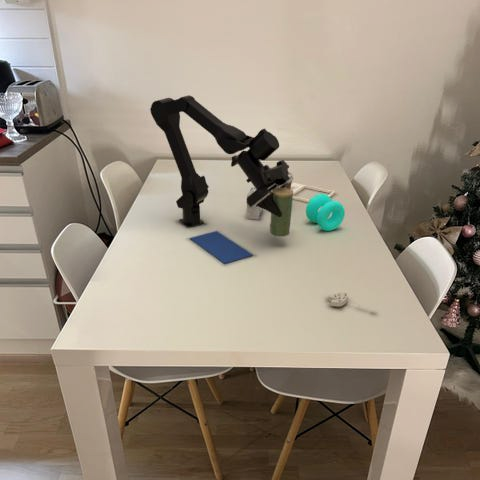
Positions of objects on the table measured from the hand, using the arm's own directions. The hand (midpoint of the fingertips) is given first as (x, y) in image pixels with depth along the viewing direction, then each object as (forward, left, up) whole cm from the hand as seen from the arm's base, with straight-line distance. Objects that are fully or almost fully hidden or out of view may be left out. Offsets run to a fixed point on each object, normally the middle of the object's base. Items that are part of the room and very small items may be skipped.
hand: (285, 212), depth 146 cm
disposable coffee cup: (-26, +19, -11) cm, 34 cm away
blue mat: (-9, -17, -11) cm, 22 cm away
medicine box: (-24, +7, -11) cm, 27 cm away
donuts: (-4, +21, -11) cm, 24 cm away
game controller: (+37, -8, -11) cm, 39 cm away
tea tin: (-1, -1, -7) cm, 7 cm away
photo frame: (-30, +36, -11) cm, 48 cm away
